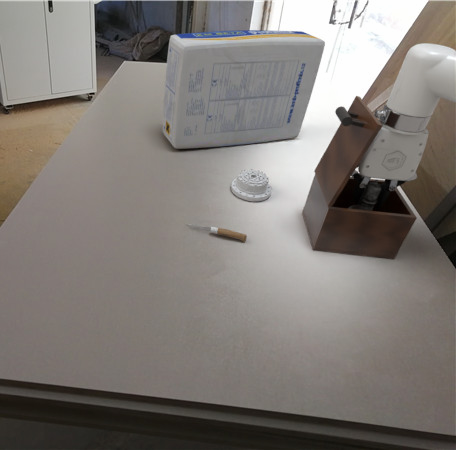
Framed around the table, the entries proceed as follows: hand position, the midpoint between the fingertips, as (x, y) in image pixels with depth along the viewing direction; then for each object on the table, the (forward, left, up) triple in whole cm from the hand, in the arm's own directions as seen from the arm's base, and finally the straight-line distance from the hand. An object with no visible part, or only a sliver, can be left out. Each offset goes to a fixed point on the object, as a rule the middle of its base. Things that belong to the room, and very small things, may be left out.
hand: (367, 201), depth 84 cm
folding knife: (+31, +5, -9) cm, 32 cm away
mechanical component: (+22, -14, -9) cm, 27 cm away
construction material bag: (+26, -44, -9) cm, 52 cm away
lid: (+8, 0, +11) cm, 13 cm away
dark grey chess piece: (0, 0, -7) cm, 7 cm away
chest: (+2, 0, -9) cm, 9 cm away
